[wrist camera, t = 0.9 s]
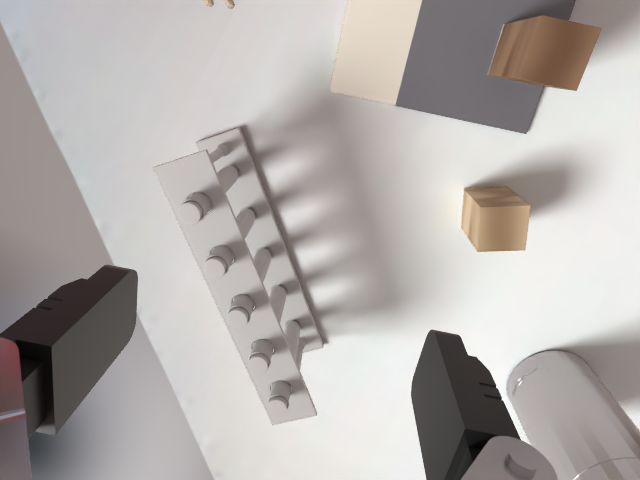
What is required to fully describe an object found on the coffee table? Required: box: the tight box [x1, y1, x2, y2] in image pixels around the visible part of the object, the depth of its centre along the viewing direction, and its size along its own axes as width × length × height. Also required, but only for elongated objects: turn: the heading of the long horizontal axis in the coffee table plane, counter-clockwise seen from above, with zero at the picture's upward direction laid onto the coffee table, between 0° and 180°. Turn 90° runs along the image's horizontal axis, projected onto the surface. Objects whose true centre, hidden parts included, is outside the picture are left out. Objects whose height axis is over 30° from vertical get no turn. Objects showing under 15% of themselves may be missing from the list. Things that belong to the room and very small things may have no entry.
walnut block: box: [487, 15, 601, 91], centre depth 34 cm, size 4×4×8 cm
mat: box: [329, 0, 576, 134], centre depth 38 cm, size 18×12×1 cm, turn 79°
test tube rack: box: [153, 127, 323, 425], centre depth 40 cm, size 25×4×13 cm, turn 18°
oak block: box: [461, 186, 531, 252], centre depth 41 cm, size 4×4×6 cm
